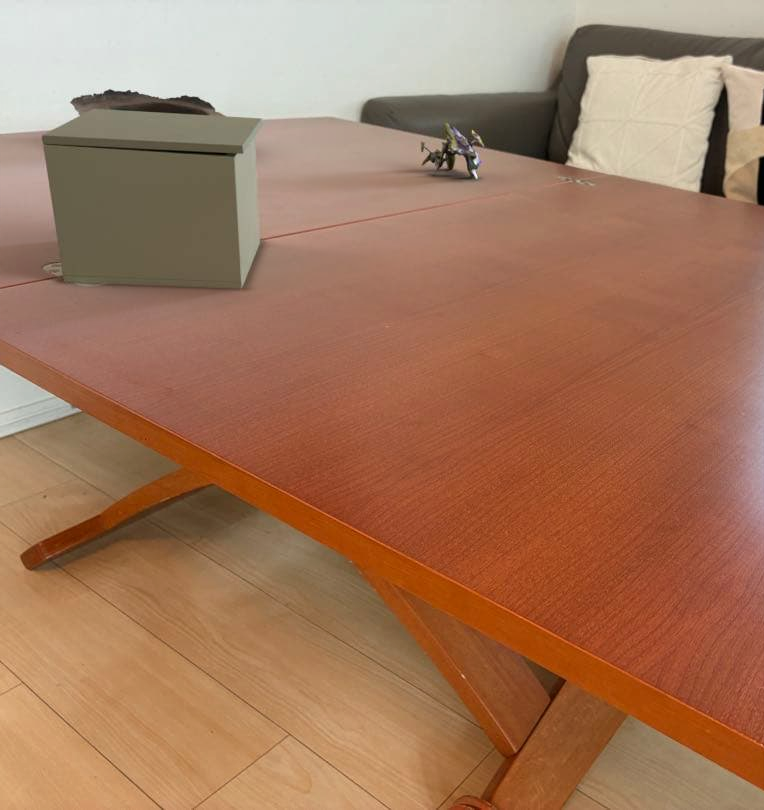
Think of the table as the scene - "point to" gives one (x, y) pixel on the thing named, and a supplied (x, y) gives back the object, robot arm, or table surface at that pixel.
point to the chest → (154, 215)
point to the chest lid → (156, 131)
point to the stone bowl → (142, 103)
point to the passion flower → (455, 151)
